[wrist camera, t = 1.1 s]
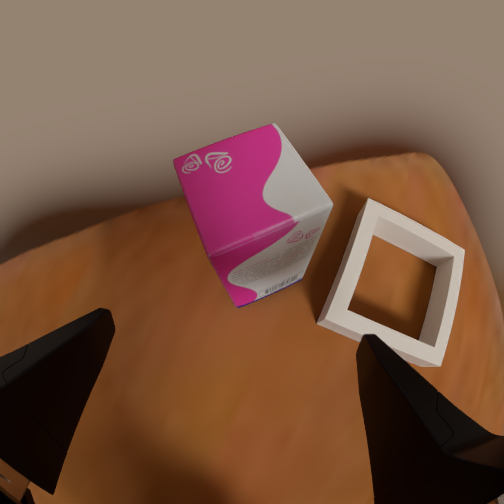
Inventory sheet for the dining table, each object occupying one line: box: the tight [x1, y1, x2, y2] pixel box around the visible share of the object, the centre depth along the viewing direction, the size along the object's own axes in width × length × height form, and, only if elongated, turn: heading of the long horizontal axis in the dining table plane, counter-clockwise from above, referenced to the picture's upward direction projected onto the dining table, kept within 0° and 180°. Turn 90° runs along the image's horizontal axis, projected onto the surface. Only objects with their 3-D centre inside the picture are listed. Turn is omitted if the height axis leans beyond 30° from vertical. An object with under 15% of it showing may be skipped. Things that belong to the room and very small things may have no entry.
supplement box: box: [173, 123, 333, 308], centre depth 17 cm, size 6×6×12 cm
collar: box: [316, 198, 465, 367], centre depth 20 cm, size 10×10×3 cm
